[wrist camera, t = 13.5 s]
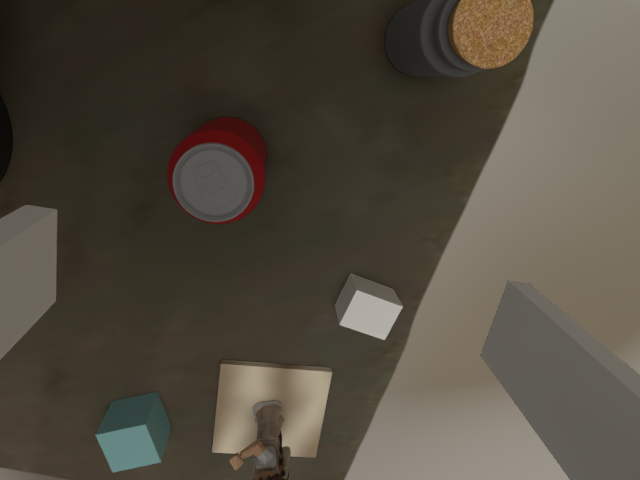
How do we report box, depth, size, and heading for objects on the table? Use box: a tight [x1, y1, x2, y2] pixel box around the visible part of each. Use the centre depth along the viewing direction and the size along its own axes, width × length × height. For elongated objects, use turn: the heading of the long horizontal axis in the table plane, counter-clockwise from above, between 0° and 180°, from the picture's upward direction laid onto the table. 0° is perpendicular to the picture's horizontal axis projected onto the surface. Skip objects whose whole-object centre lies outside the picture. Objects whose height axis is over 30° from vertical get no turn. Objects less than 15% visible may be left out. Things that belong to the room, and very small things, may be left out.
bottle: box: [385, 0, 533, 78], centre depth 33 cm, size 6×6×15 cm
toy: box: [229, 401, 291, 480], centre depth 44 cm, size 6×6×15 cm
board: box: [212, 359, 332, 457], centre depth 51 cm, size 12×12×1 cm
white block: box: [334, 273, 403, 340], centre depth 46 cm, size 5×4×4 cm
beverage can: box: [167, 117, 267, 224], centre depth 36 cm, size 7×7×12 cm
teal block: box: [96, 392, 171, 472], centre depth 48 cm, size 5×5×5 cm
